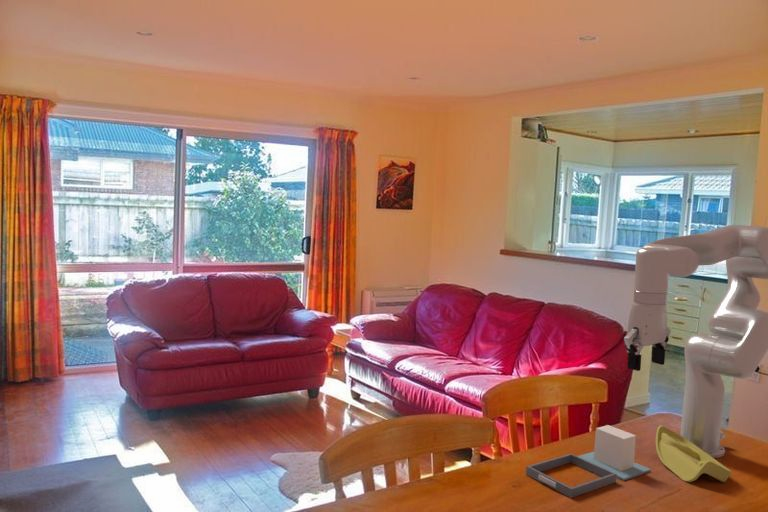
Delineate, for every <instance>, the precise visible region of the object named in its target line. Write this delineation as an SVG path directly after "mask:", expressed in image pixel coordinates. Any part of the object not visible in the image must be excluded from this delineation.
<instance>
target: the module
mask: <svg viewBox="0 0 768 512" xmlns="http://www.w3.org/2000/svg"><path fill="white" fill-rule="evenodd" d="M636 439H637V435H636V434H633V433H631V432H628V431H626V430H622V429H620V428H618V427H614V426H612V425H609V424H606V425H603V426H599V427H595V436H594V447H593V448H594V449H593V452H594V457H593V459H595V460H597V461H600V462H602V463H604V464H606V465H609V466H611V467H613V468H616V469H618V470H620V471H622V470H625V469H628V468H631V467H633V464H634V462H635V453H636V452H635V451H636V443H637V442H636V441H637V440H636Z"/></svg>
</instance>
